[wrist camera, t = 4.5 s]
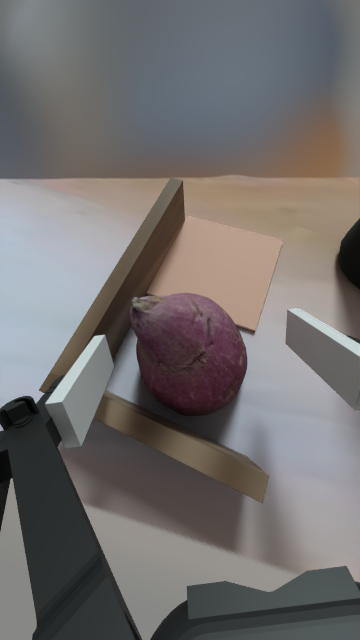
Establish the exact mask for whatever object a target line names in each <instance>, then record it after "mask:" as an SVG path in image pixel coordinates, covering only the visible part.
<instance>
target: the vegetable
mask: <svg viewBox="0 0 360 640" xmlns="http://www.w3.org/2000/svg"><path fill="white" fill-rule="evenodd" d="M130 321H131V325H132V328H133V329H134V332H135V334H136V336H137V338H138V340H137V345H136V353H137V360H138V364H139V367H140V371H141V373H142V376H143V379H144V381H145V384H146V386H147V388H148V389H149V391H150V392H151V393H152V395H153V396H154V397H155V398H156V399H157V400H159V401H161V402H163V403H164V404H165V405H167V406H169V407H170V408H172V409H173V410H175V411H176V412H178V413H180V414H183V415H187V416H200V415H206V414H210V413H213V412H215V411H217V410H219V409H220V408H222V407H224V406H225V405H227V404H228V403H229V402H230V401H231V400H232V399H233V398H234V397H235V395H236V394H237V392H238V390H239V388H240V386H241V384H242V382H243V380H244V377H245V374H246V370H247V354H246V347H245V344H244V342H243V339H242V337H241V334H240V332H239V330H238V328H237V326H236V324H235V323H234V321H233V320H232V319H231V317H230V316H229V315H228V314H227V312H226V311H225V310H224V309H223V308H222V307H220V306H219V305H218V304H217V303H215V302H214V301H213V300H211V299H210V298H208V297H205V296H201V295H197V294H191V293H178V294H172V295H168V296H146V297H141V298H140V299H139V298H137V297H135V298H133V300H132V306H131V309H130Z"/></svg>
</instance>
